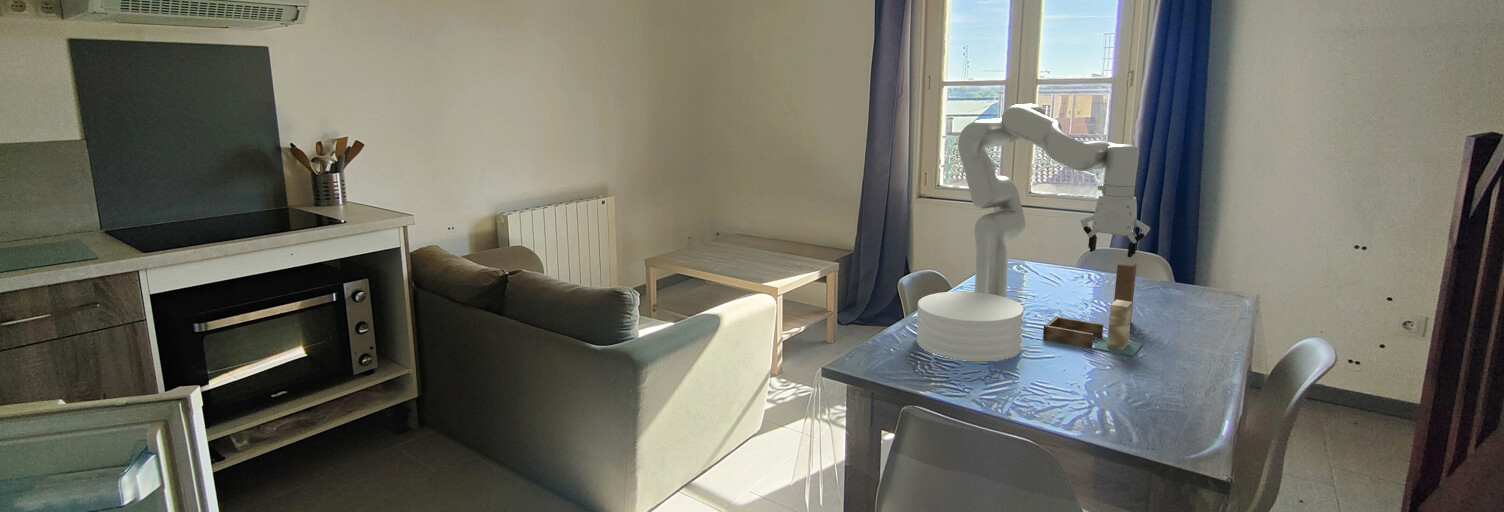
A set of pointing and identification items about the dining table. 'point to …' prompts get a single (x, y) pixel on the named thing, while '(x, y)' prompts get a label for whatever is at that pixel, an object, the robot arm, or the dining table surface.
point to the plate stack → (970, 326)
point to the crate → (1072, 331)
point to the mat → (1128, 350)
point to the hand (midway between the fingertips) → (1111, 253)
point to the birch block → (1119, 324)
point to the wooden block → (1125, 282)
